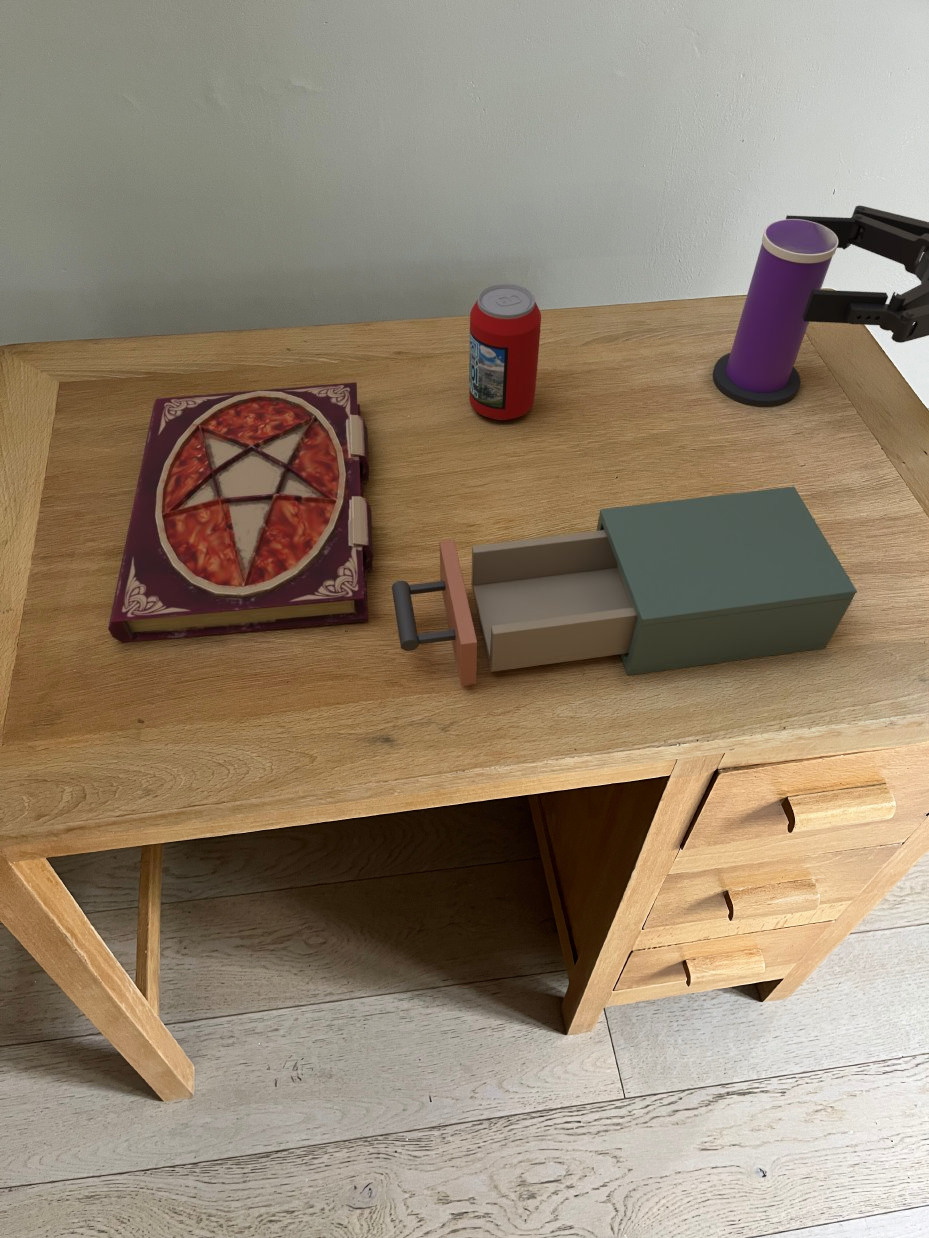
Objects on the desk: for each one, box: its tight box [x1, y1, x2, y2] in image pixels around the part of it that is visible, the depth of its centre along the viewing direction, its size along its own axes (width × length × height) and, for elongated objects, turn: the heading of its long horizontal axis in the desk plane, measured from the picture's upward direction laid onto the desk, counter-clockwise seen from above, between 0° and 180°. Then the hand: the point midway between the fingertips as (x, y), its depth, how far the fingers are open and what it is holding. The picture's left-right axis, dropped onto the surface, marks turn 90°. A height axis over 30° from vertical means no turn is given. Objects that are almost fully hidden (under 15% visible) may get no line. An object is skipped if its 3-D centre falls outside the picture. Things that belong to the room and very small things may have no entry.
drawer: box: [391, 530, 638, 686], centre depth 67 cm, size 20×10×5 cm, turn 100°
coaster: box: [712, 352, 801, 408], centre depth 91 cm, size 9×9×1 cm
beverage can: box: [468, 283, 542, 421], centre depth 84 cm, size 7×7×12 cm
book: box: [107, 381, 374, 643], centre depth 77 cm, size 28×21×5 cm
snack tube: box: [726, 218, 838, 393], centre depth 85 cm, size 7×7×15 cm
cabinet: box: [595, 486, 858, 676], centre depth 69 cm, size 17×12×7 cm
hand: (794, 266), depth 81 cm, fingers open, 13 cm apart
